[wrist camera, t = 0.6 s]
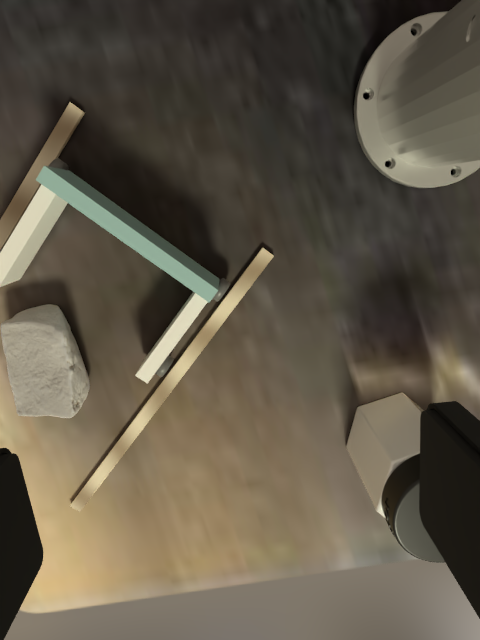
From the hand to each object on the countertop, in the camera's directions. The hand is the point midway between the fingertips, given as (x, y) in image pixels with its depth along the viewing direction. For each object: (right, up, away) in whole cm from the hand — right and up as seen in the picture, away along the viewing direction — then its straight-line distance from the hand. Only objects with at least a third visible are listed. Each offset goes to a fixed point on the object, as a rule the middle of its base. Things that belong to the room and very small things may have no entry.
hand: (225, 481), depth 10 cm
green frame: (-10, +8, +28) cm, 31 cm away
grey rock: (-17, 0, +30) cm, 34 cm away
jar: (+15, -7, +33) cm, 37 cm away
